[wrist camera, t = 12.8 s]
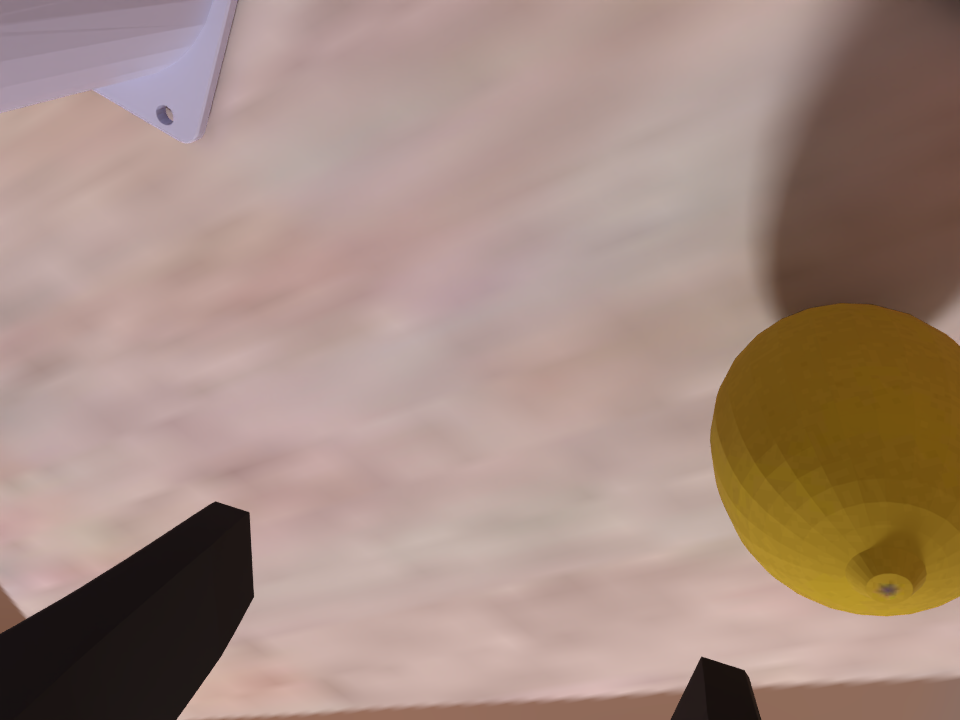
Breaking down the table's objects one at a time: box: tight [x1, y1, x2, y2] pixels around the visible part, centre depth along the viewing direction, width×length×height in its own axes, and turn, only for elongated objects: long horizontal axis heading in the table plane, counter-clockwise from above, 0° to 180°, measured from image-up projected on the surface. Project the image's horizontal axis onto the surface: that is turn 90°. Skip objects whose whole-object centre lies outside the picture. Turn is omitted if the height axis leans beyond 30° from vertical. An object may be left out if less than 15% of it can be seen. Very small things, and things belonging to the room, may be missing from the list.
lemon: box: [710, 303, 960, 616], centre depth 15 cm, size 6×6×8 cm
